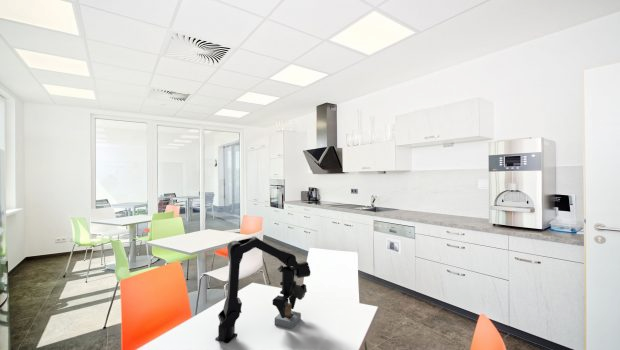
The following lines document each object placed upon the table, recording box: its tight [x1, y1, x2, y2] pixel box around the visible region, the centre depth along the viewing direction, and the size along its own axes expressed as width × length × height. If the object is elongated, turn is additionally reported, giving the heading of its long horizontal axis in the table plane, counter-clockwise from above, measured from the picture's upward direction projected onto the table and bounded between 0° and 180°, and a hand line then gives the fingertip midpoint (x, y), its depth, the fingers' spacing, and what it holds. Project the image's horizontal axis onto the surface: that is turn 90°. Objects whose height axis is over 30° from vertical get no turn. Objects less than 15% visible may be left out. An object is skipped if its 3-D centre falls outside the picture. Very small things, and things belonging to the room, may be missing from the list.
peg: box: [285, 302, 292, 319], centre depth 127 cm, size 3×3×8 cm
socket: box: [274, 310, 302, 330], centre depth 127 cm, size 9×9×3 cm
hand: (287, 313), depth 127 cm, fingers open, 9 cm apart
